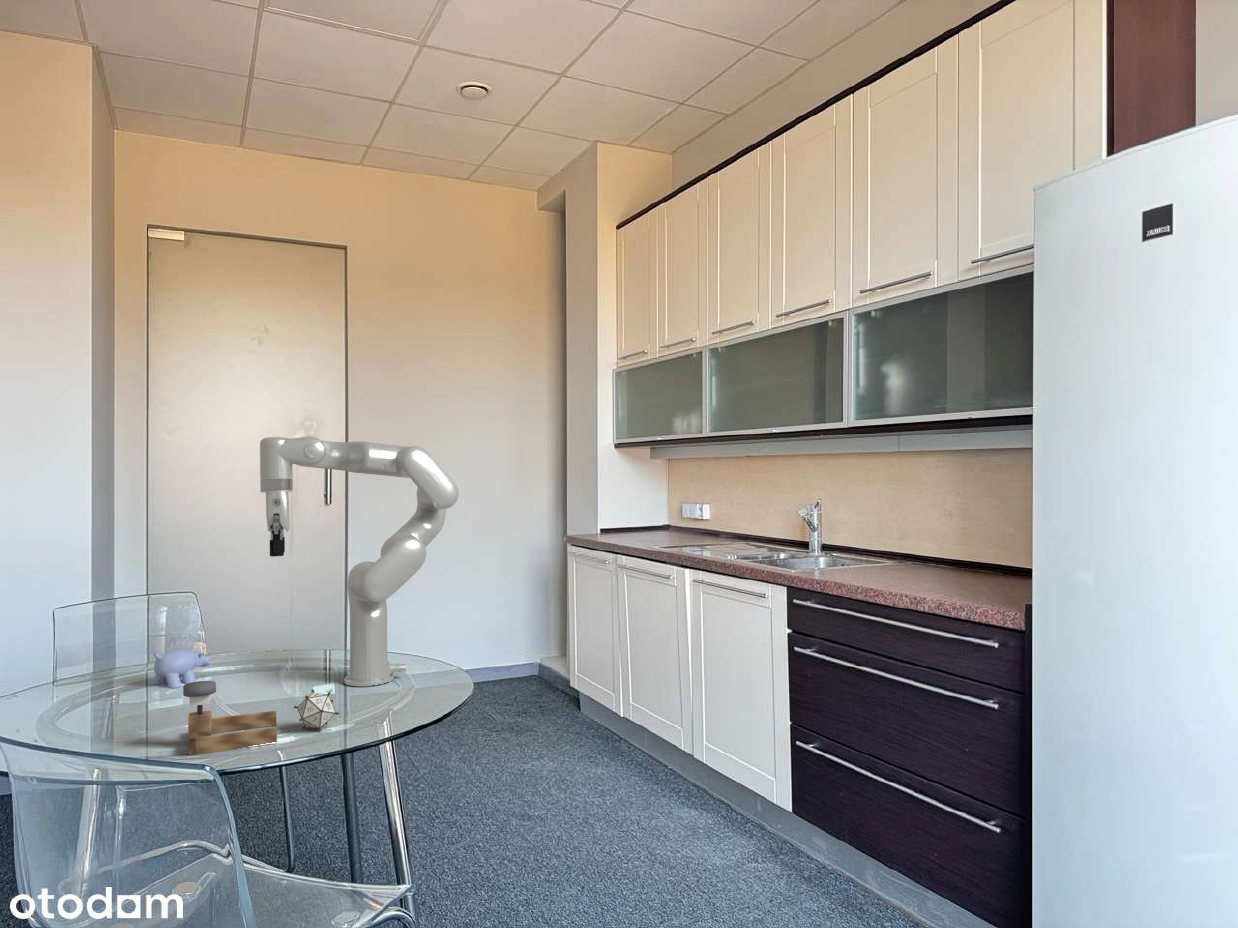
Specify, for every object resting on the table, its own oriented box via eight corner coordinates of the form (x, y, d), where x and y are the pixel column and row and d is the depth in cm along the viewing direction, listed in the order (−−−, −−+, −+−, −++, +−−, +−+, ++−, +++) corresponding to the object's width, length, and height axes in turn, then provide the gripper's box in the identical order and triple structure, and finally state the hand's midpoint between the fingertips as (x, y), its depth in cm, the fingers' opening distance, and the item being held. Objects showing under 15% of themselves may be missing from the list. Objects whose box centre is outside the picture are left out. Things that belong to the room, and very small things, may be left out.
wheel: (216, 697, 173) (216, 679, 173) (215, 704, 167) (215, 686, 167) (184, 700, 170) (184, 682, 170) (181, 708, 165) (181, 689, 165)
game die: (310, 744, 178) (303, 701, 183) (348, 728, 179) (339, 686, 184) (291, 735, 171) (284, 691, 176) (330, 719, 171) (322, 675, 176)
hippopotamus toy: (219, 678, 223) (219, 643, 223) (164, 691, 211) (164, 654, 211) (196, 673, 229) (196, 639, 229) (142, 685, 216) (141, 649, 216)
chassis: (276, 724, 181) (276, 688, 181) (276, 743, 168) (276, 705, 168) (192, 734, 174) (191, 697, 174) (185, 755, 161) (185, 715, 161)
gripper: (292, 486, 200) (293, 556, 199) (293, 485, 216) (293, 550, 216) (258, 487, 197) (259, 558, 197) (262, 486, 213) (262, 552, 213)
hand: (277, 554), depth 206 cm, fingers open, 9 cm apart
